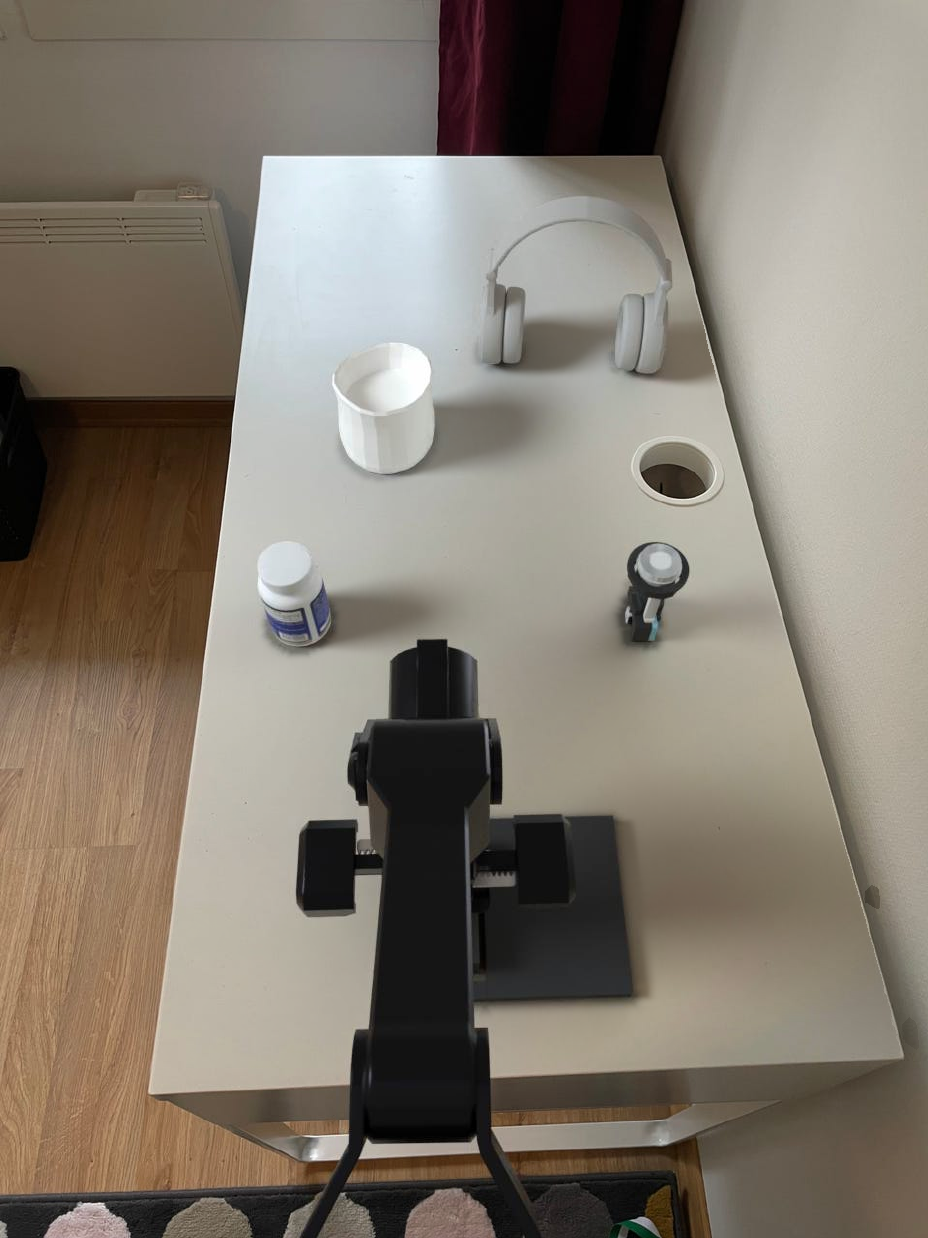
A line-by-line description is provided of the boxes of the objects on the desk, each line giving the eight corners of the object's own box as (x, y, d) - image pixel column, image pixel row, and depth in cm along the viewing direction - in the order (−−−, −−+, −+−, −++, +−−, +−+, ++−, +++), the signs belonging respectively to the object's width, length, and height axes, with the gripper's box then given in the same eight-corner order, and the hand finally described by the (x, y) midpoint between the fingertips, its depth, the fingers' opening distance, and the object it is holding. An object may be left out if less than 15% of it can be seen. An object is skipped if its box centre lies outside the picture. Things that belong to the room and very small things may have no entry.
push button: (608, 585, 92) (624, 523, 84) (663, 584, 92) (685, 522, 84) (615, 645, 89) (633, 587, 80) (673, 644, 89) (696, 586, 80)
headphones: (655, 336, 110) (690, 184, 93) (657, 390, 105) (694, 240, 89) (481, 326, 110) (485, 173, 94) (476, 379, 106) (479, 228, 89)
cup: (326, 460, 100) (314, 393, 92) (371, 396, 105) (363, 327, 96) (407, 490, 98) (403, 425, 90) (449, 424, 103) (449, 356, 94)
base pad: (630, 997, 73) (633, 994, 72) (394, 1004, 73) (393, 1002, 71) (610, 820, 80) (612, 815, 79) (395, 826, 80) (395, 821, 79)
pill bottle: (309, 586, 92) (293, 524, 83) (344, 626, 90) (332, 566, 81) (258, 618, 90) (238, 558, 81) (293, 660, 88) (275, 602, 79)
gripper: (572, 709, 64) (552, 792, 77) (291, 716, 63) (320, 798, 77) (588, 875, 58) (563, 934, 71) (279, 884, 58) (313, 942, 71)
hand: (438, 896), depth 73 cm, fingers closed, pressing on foam pad
